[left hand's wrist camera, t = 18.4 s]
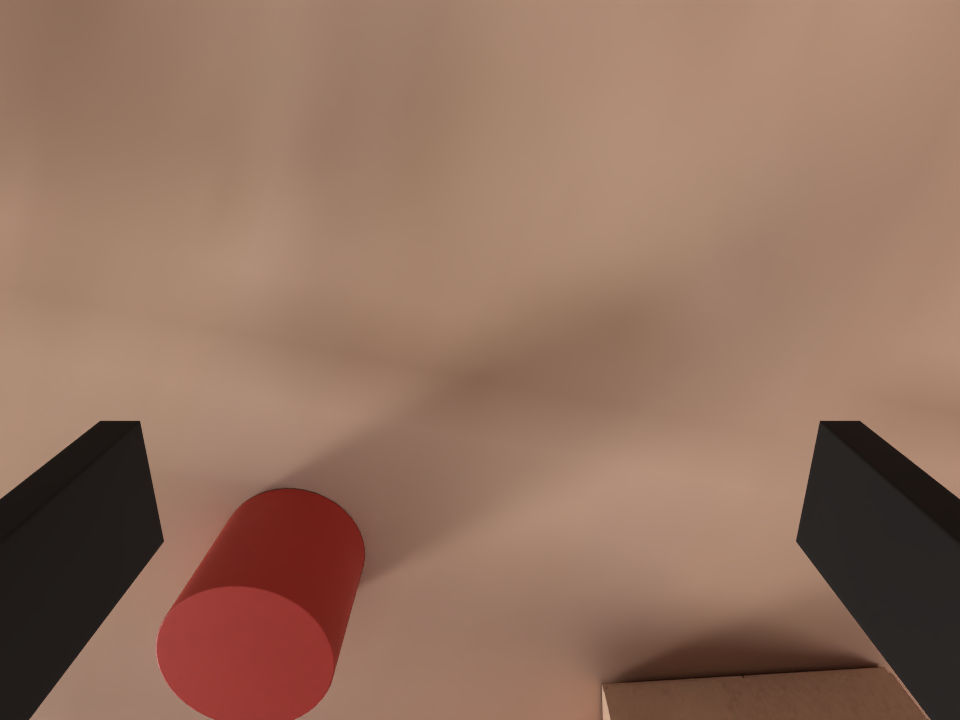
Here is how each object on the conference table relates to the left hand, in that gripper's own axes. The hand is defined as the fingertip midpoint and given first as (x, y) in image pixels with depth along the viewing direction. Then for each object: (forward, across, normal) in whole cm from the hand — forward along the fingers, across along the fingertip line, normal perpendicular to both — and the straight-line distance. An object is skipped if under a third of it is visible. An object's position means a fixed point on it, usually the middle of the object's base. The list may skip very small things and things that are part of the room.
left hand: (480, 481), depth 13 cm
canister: (+21, -11, -17) cm, 30 cm away
